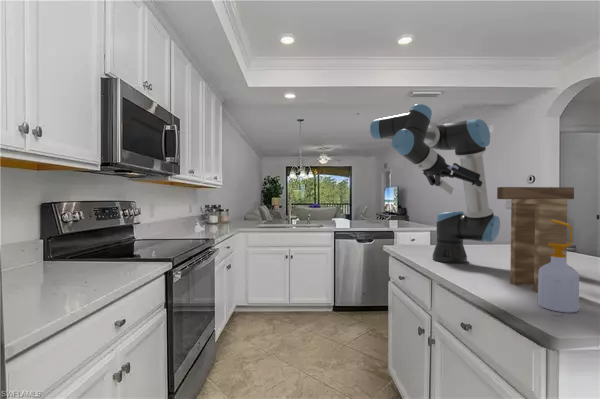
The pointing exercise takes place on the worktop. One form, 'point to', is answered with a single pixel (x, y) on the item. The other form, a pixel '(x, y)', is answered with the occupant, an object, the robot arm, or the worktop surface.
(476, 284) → the worktop surface
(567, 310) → the soap bottle
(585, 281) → the worktop surface
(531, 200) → the bridge
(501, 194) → the walnut rail
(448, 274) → the worktop surface
